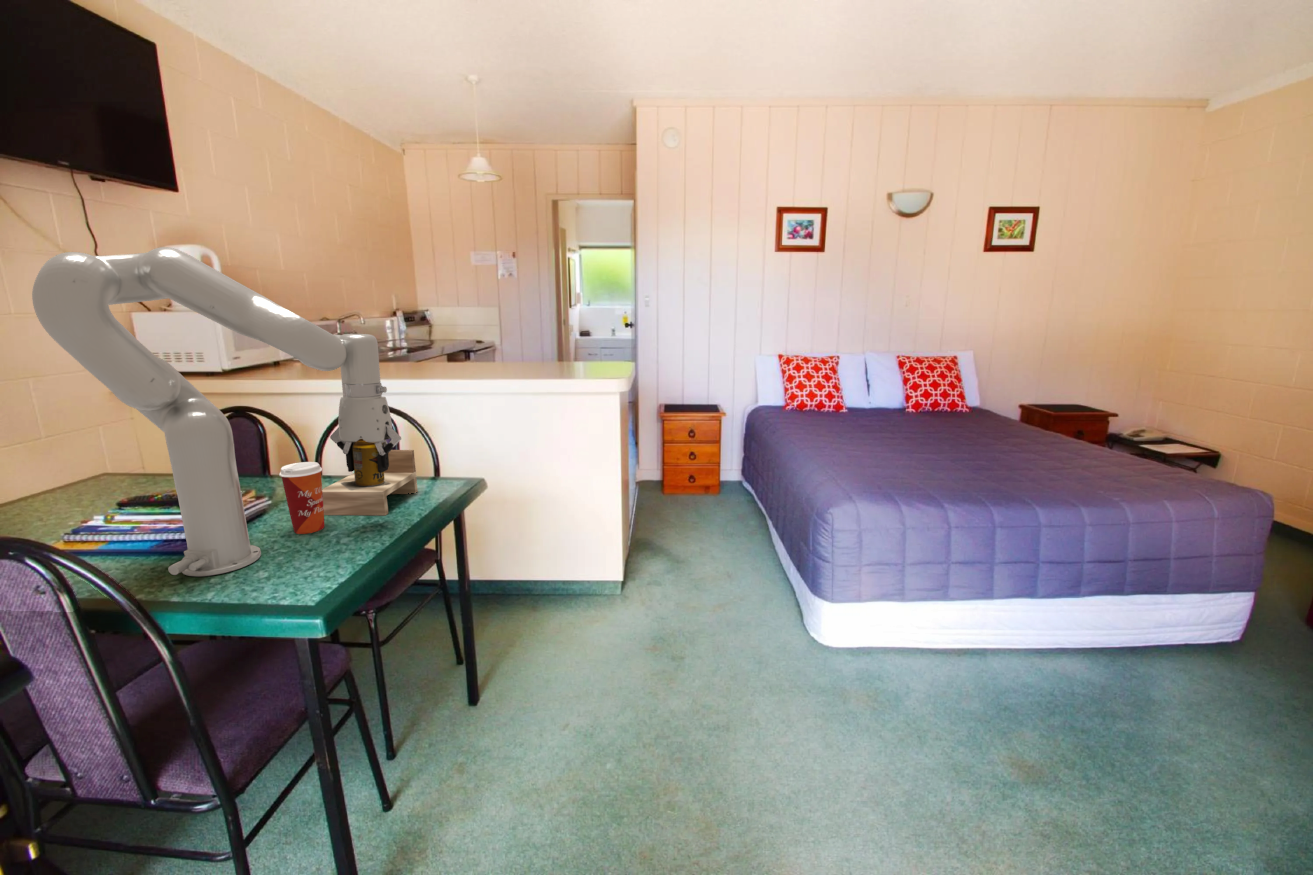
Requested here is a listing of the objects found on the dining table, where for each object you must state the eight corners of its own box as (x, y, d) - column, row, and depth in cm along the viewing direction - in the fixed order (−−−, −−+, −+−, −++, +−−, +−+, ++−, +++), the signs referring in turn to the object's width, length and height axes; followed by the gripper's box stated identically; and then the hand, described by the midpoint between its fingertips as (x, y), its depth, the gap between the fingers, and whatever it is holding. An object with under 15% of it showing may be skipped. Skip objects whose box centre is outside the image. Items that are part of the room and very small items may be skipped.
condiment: (391, 484, 128) (388, 432, 125) (350, 491, 122) (346, 436, 120) (379, 478, 133) (376, 428, 130) (340, 484, 127) (336, 431, 125)
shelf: (385, 515, 137) (380, 468, 135) (320, 514, 138) (314, 467, 135) (417, 492, 155) (413, 449, 152) (360, 491, 155) (355, 449, 153)
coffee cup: (310, 537, 124) (301, 471, 121) (279, 534, 126) (268, 469, 122) (338, 523, 132) (330, 461, 129) (308, 521, 134) (299, 460, 130)
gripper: (409, 390, 127) (413, 467, 130) (333, 388, 127) (340, 465, 131) (392, 394, 119) (398, 476, 123) (312, 392, 120) (320, 473, 123)
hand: (368, 469), depth 127 cm, fingers closed on condiment, 6 cm apart
